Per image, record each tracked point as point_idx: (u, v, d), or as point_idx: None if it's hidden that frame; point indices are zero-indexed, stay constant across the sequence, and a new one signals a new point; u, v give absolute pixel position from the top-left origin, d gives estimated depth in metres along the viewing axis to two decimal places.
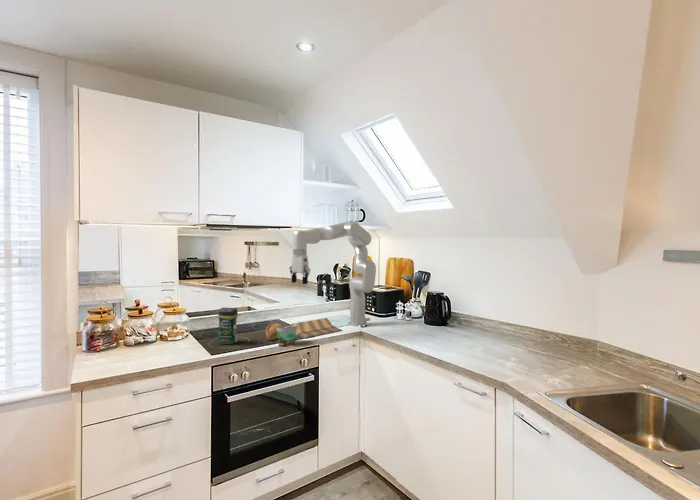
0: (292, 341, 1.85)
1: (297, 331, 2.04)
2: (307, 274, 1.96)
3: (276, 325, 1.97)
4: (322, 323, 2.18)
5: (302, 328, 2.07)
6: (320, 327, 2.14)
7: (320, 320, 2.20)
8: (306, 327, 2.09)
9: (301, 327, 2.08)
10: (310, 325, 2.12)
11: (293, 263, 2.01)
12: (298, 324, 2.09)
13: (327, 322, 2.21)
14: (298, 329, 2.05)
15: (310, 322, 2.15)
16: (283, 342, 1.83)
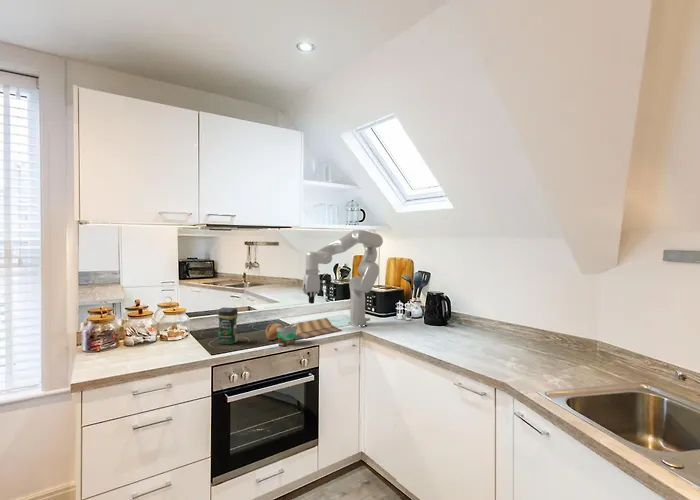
0: (292, 341, 1.85)
1: (297, 331, 2.04)
2: None
3: (276, 325, 1.97)
4: (322, 323, 2.18)
5: (302, 328, 2.07)
6: (320, 327, 2.14)
7: (320, 320, 2.20)
8: (306, 327, 2.09)
9: (301, 327, 2.08)
10: (310, 325, 2.12)
11: (310, 283, 2.10)
12: (298, 324, 2.09)
13: (327, 322, 2.21)
14: (298, 329, 2.05)
15: (310, 322, 2.15)
16: (283, 342, 1.83)
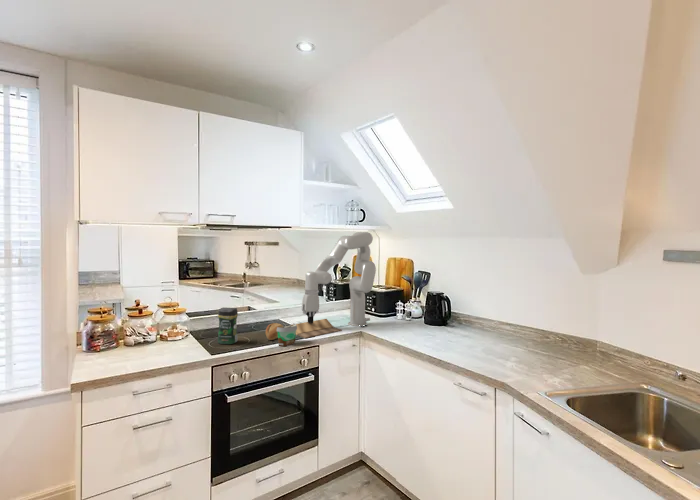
0: (292, 341, 1.85)
1: (297, 331, 2.04)
2: None
3: (276, 325, 1.97)
4: (322, 323, 2.18)
5: (302, 328, 2.08)
6: (320, 327, 2.14)
7: (320, 321, 2.20)
8: (305, 328, 2.09)
9: (301, 327, 2.08)
10: (310, 325, 2.13)
11: (309, 303, 2.10)
12: (298, 325, 2.09)
13: (327, 322, 2.21)
14: (298, 329, 2.06)
15: None
16: (283, 342, 1.83)
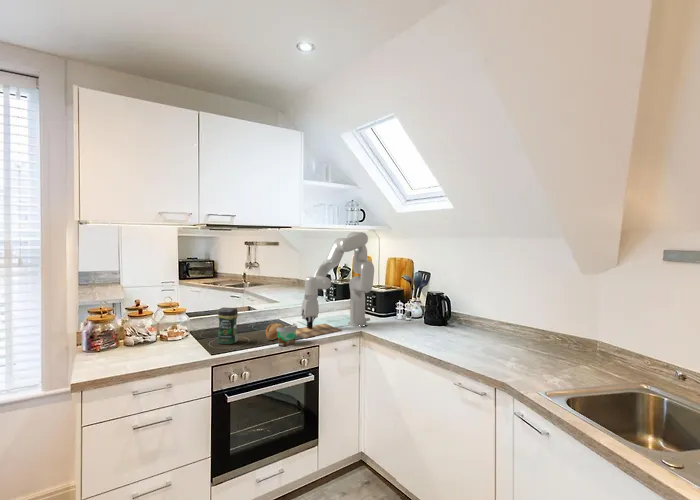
0: (292, 341, 1.85)
1: (296, 332, 2.04)
2: None
3: (276, 325, 1.97)
4: (321, 326, 2.19)
5: (301, 330, 2.08)
6: (319, 328, 2.15)
7: (319, 325, 2.21)
8: (305, 330, 2.10)
9: (300, 330, 2.09)
10: None
11: (308, 308, 2.10)
12: (297, 329, 2.10)
13: (326, 325, 2.22)
14: (297, 331, 2.06)
15: None
16: (283, 342, 1.83)
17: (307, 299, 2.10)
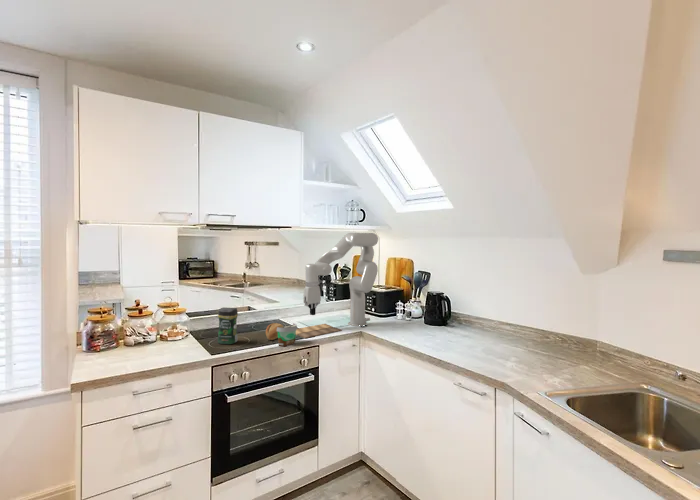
0: (292, 341, 1.85)
1: (296, 332, 2.04)
2: None
3: (276, 325, 1.97)
4: (321, 326, 2.19)
5: (301, 330, 2.08)
6: (319, 328, 2.15)
7: (319, 325, 2.21)
8: (305, 330, 2.10)
9: (300, 330, 2.09)
10: (309, 328, 2.13)
11: (310, 295, 2.11)
12: (297, 329, 2.10)
13: (326, 325, 2.22)
14: (297, 331, 2.06)
15: (309, 327, 2.16)
16: (283, 342, 1.83)
17: (308, 286, 2.10)
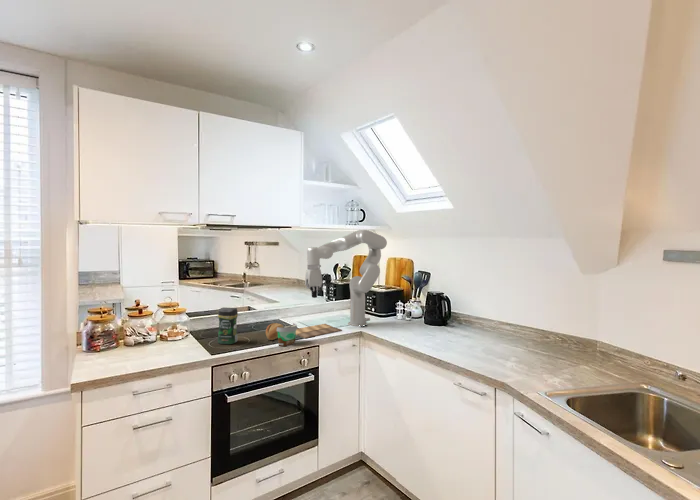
0: (292, 341, 1.85)
1: (296, 332, 2.04)
2: None
3: (276, 325, 1.97)
4: (321, 326, 2.19)
5: (301, 330, 2.08)
6: (319, 328, 2.15)
7: (319, 325, 2.21)
8: (305, 330, 2.10)
9: (300, 330, 2.09)
10: (309, 328, 2.13)
11: (312, 278, 2.14)
12: (297, 329, 2.10)
13: (326, 325, 2.22)
14: (297, 331, 2.06)
15: (309, 327, 2.16)
16: (283, 342, 1.83)
17: (310, 269, 2.14)
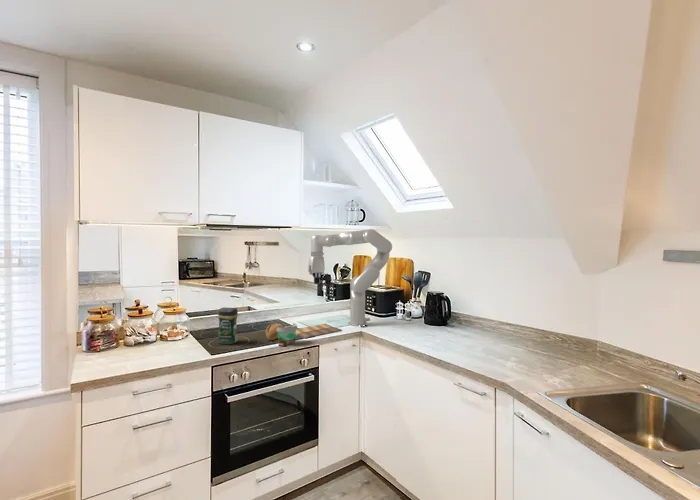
0: (292, 341, 1.85)
1: (296, 332, 2.04)
2: None
3: (276, 325, 1.97)
4: (321, 326, 2.19)
5: (301, 330, 2.08)
6: (319, 328, 2.15)
7: (319, 325, 2.21)
8: (305, 330, 2.10)
9: (300, 330, 2.09)
10: (309, 328, 2.13)
11: (315, 264, 2.23)
12: (297, 329, 2.10)
13: (326, 325, 2.22)
14: (297, 331, 2.06)
15: (309, 327, 2.16)
16: (283, 342, 1.83)
17: (313, 255, 2.23)
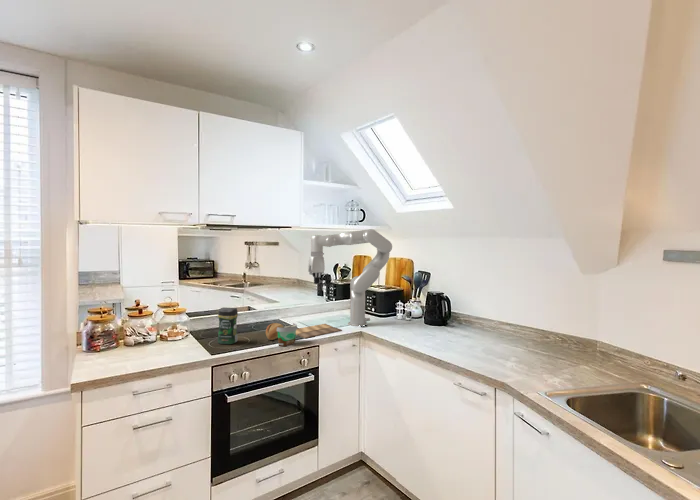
0: (292, 341, 1.85)
1: (296, 332, 2.04)
2: None
3: (276, 325, 1.97)
4: (321, 326, 2.19)
5: (301, 330, 2.08)
6: (319, 328, 2.15)
7: (319, 325, 2.21)
8: (305, 330, 2.10)
9: (300, 330, 2.09)
10: (309, 328, 2.13)
11: (315, 264, 2.23)
12: (297, 329, 2.10)
13: (326, 325, 2.22)
14: (297, 331, 2.06)
15: (309, 327, 2.16)
16: (283, 342, 1.83)
17: (313, 255, 2.23)
